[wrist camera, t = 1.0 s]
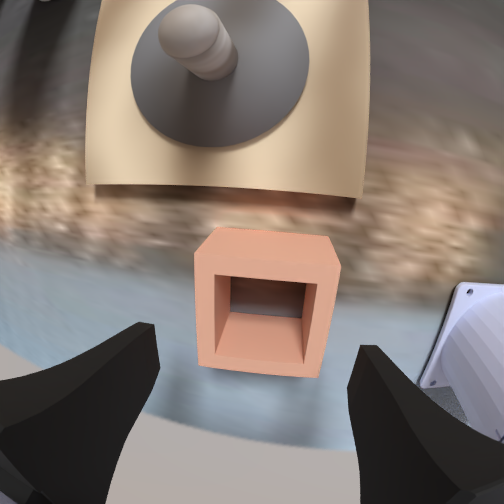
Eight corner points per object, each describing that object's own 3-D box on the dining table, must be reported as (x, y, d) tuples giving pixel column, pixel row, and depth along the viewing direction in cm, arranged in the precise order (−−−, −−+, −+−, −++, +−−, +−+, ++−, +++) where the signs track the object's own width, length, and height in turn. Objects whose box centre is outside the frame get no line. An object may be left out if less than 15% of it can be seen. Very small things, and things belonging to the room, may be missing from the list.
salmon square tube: (328, 236, 15) (341, 266, 11) (313, 331, 17) (318, 377, 13) (216, 227, 15) (194, 253, 12) (216, 321, 17) (198, 365, 14)
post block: (361, -18, 10) (390, -81, 4) (356, 195, 14) (398, 226, 8) (113, -7, 11) (54, -45, 6) (96, 182, 15) (20, 203, 10)
